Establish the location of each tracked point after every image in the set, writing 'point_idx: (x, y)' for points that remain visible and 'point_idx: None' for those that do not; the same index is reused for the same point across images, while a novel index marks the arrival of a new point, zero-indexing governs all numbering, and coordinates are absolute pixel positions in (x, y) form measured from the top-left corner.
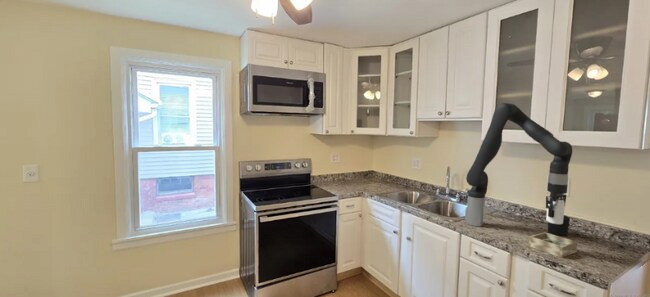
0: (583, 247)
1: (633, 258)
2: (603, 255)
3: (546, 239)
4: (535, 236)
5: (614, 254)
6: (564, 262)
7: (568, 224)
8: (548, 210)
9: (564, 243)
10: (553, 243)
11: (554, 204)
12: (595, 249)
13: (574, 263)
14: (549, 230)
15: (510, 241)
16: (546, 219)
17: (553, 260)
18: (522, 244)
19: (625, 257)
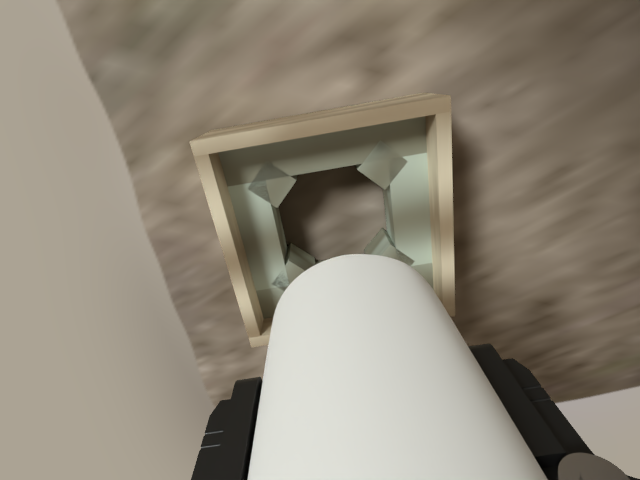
0: (564, 244)
1: (617, 386)
2: (525, 337)
3: (366, 163)
4: (268, 142)
5: (597, 342)
6: (220, 342)
7: None
8: (214, 469)
9: (416, 251)
10: (387, 193)
11: None
12: (592, 280)
13: (261, 359)
14: None
15: (134, 8)
16: (289, 291)
17: (181, 316)
18: (190, 92)
19: (598, 372)
